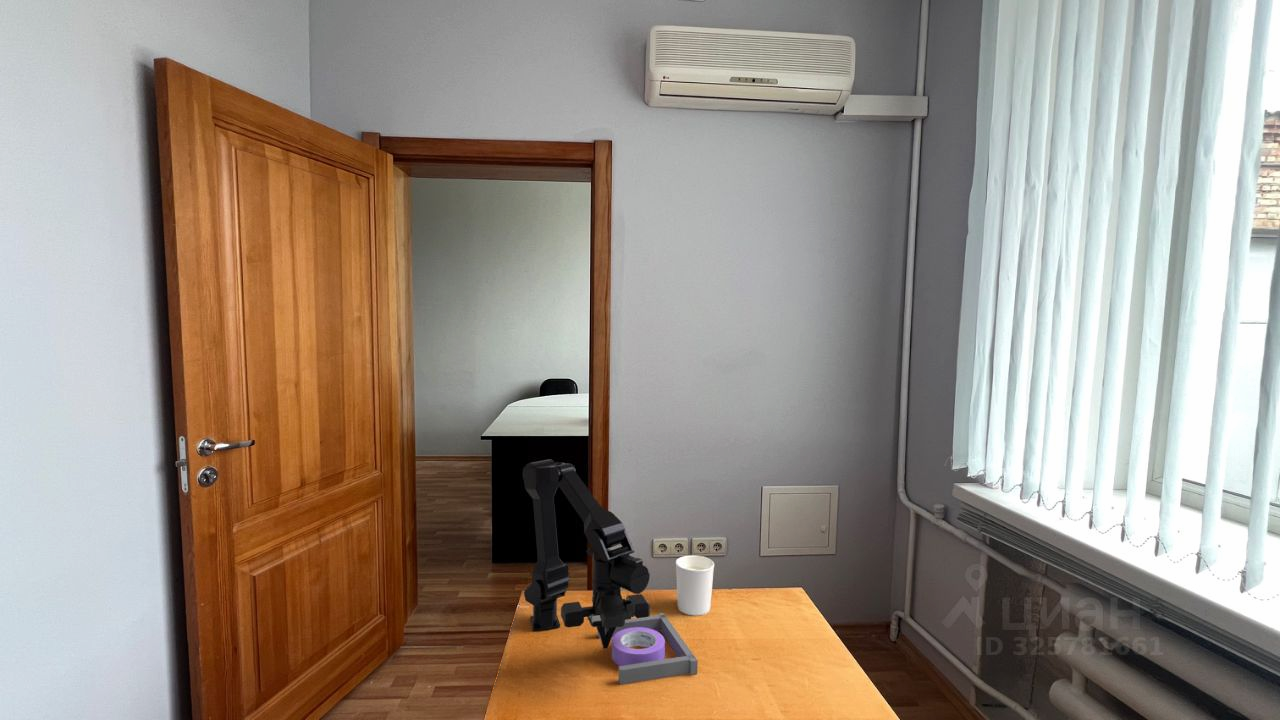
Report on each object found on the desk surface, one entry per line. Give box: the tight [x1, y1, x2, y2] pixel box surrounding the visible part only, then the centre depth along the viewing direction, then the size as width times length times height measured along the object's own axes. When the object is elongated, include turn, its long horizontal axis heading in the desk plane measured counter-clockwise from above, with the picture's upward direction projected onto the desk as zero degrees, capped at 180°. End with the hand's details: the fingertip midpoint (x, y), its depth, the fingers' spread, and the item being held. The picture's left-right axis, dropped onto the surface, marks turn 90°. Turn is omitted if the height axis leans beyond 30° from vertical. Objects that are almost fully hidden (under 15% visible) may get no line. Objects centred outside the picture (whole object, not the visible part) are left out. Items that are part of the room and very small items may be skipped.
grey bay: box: [597, 612, 699, 686], centre depth 136 cm, size 22×16×3 cm
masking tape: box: [611, 627, 666, 667], centre depth 136 cm, size 12×12×4 cm
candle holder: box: [675, 555, 715, 616], centre depth 158 cm, size 10×10×12 cm
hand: (605, 648), depth 134 cm, fingers closed
